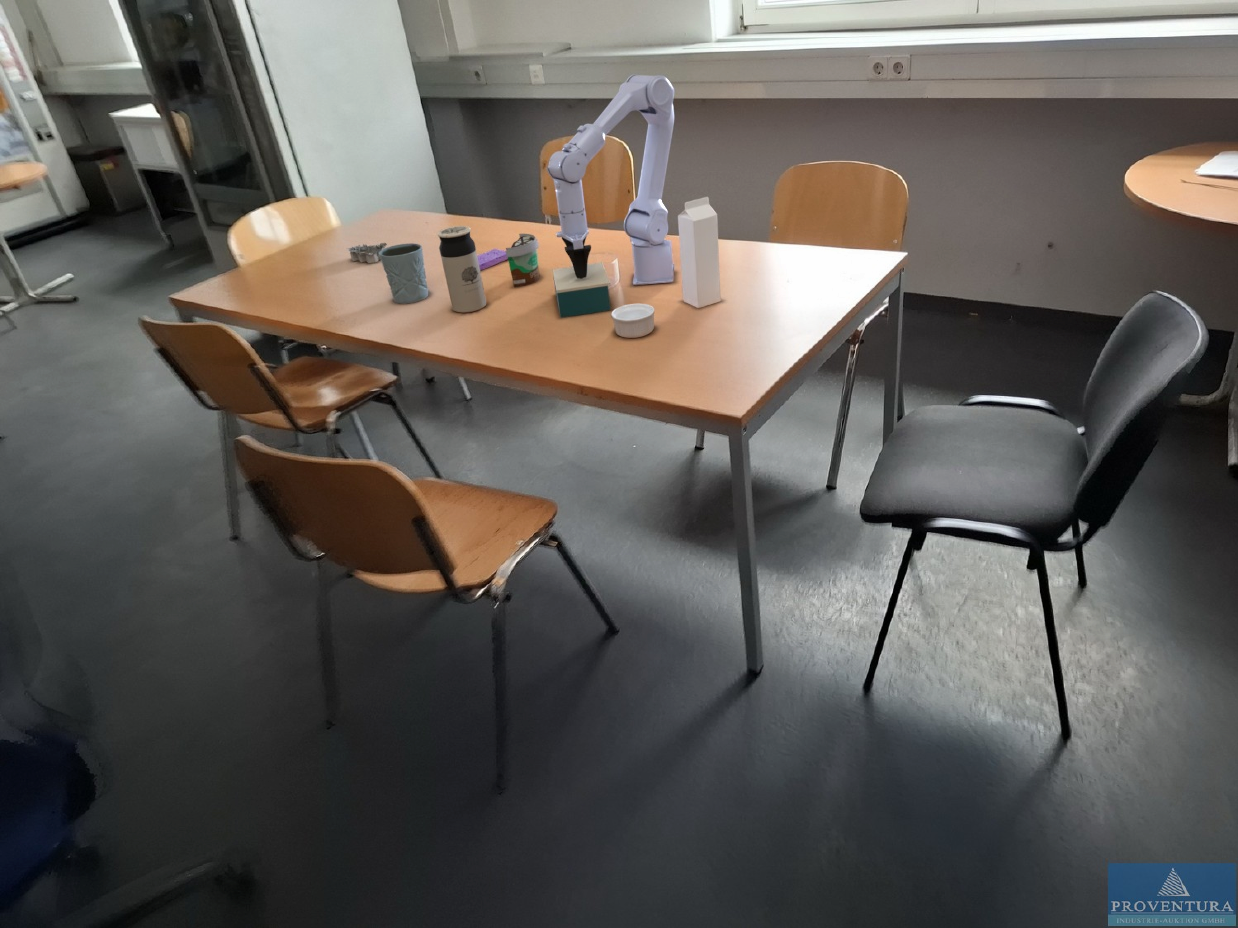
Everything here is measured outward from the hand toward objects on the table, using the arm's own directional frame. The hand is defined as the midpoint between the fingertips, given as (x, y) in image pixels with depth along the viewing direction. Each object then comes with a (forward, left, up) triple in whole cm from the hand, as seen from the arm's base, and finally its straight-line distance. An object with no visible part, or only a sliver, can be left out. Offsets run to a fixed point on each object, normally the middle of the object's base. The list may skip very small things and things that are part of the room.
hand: (579, 271), depth 183 cm
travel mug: (+27, -2, -7) cm, 28 cm away
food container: (+15, -19, -7) cm, 25 cm away
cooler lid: (0, 0, -2) cm, 2 cm away
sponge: (+30, -34, -7) cm, 46 cm away
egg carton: (+67, -47, -7) cm, 83 cm away
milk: (-27, +5, -7) cm, 28 cm away
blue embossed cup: (+44, -12, -7) cm, 47 cm away
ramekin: (-13, +19, -7) cm, 24 cm away
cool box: (0, 0, -7) cm, 7 cm away
